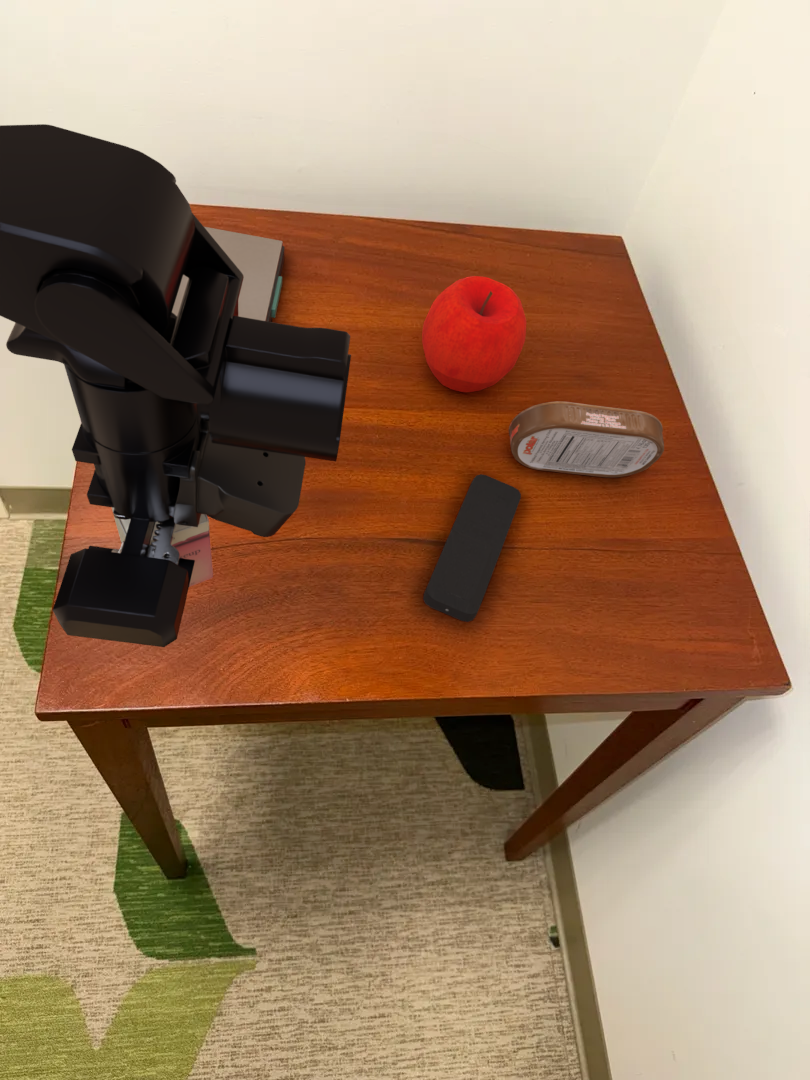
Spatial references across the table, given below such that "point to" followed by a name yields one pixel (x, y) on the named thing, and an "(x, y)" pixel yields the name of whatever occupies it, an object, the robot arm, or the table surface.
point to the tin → (586, 439)
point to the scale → (250, 272)
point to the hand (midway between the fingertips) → (167, 555)
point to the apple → (473, 333)
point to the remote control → (472, 548)
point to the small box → (186, 546)
